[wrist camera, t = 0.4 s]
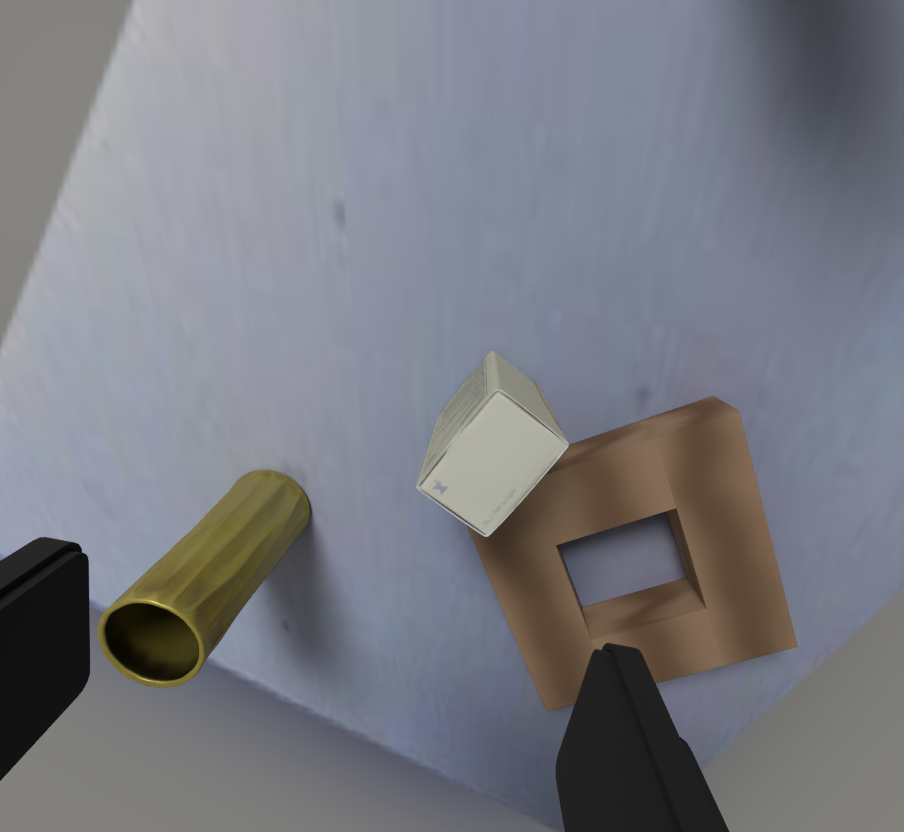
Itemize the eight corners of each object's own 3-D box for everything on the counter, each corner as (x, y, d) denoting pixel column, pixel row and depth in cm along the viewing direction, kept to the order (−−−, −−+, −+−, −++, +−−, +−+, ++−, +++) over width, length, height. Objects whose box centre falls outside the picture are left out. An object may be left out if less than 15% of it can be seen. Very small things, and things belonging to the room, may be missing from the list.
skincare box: (484, 452, 35) (486, 545, 24) (434, 415, 35) (410, 491, 23) (543, 384, 34) (575, 447, 22) (491, 343, 33) (496, 386, 21)
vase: (227, 466, 37) (76, 585, 23) (309, 471, 36) (207, 595, 23) (233, 539, 38) (98, 691, 25) (312, 545, 38) (219, 701, 25)
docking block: (713, 396, 33) (738, 410, 30) (769, 612, 38) (797, 646, 34) (459, 482, 36) (457, 504, 33) (540, 674, 40) (546, 711, 37)
